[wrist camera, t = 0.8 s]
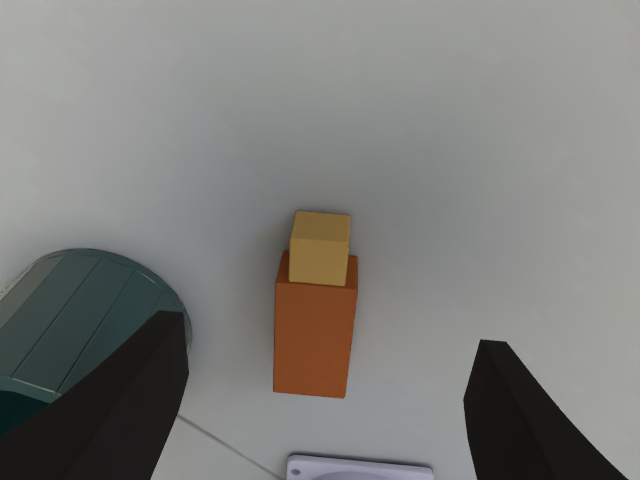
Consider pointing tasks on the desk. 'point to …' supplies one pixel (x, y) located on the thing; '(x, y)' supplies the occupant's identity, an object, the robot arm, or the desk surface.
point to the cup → (70, 324)
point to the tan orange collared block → (315, 307)
